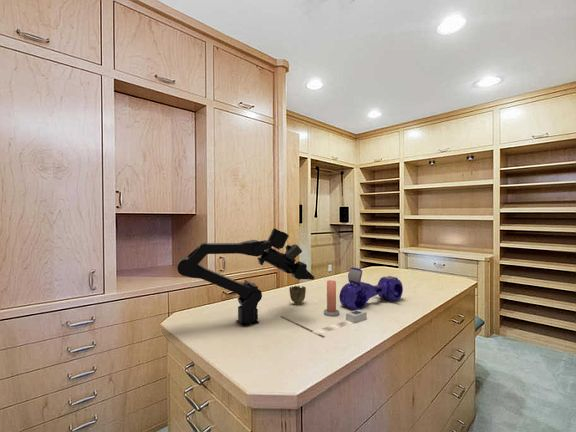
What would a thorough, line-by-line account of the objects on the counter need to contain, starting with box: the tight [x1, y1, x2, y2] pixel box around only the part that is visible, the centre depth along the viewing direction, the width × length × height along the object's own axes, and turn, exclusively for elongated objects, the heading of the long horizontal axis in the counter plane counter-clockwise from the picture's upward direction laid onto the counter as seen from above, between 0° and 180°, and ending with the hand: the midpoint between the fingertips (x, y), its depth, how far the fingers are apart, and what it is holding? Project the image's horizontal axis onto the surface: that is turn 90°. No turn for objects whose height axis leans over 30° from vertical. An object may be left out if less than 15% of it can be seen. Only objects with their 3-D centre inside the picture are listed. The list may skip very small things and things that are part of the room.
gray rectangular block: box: [345, 309, 368, 324], centre depth 108 cm, size 7×4×3 cm, turn 127°
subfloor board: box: [280, 315, 354, 339], centre depth 110 cm, size 26×24×1 cm
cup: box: [288, 285, 307, 306], centre depth 128 cm, size 8×7×8 cm
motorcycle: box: [339, 267, 404, 311], centre depth 130 cm, size 35×14×18 cm, turn 124°
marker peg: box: [323, 279, 340, 318], centre depth 114 cm, size 6×6×13 cm
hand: (309, 275), depth 116 cm, fingers open, 9 cm apart
